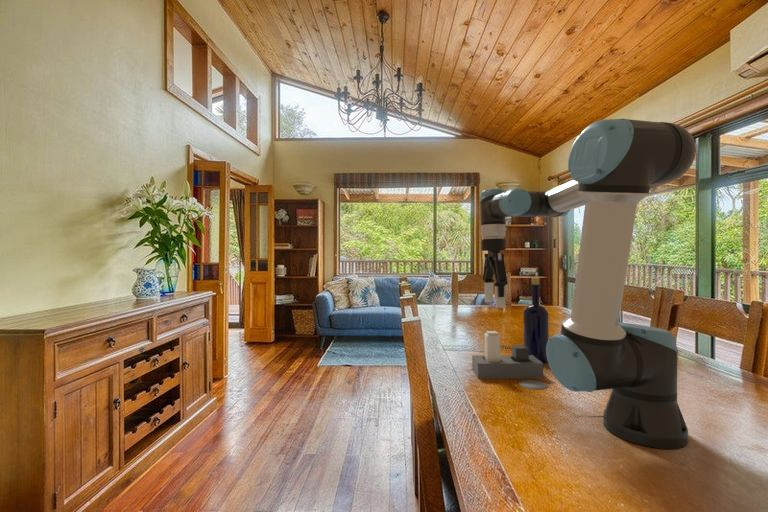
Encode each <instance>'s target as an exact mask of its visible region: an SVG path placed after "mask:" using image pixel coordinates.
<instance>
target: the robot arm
mask: <svg viewBox="0 0 768 512" xmlns="http://www.w3.org/2000/svg"><path fill="white" fill-rule="evenodd" d="M696 153H697V144H696V142H695V139H694V137H693V135H692V134H691V132H690V131H688V130H687V129H686V128H685V127H683V126H681V125H680V124H676V123H673V122H667V121H665V122H664V121H650V120H638V119H629V118H612V119H611V118H610V119H609V118H607V119H600V120H597V121H594V122H592V123H591V124H589V125H588V126H586V127H585V128H584V129H583V130H582V131H581V133H580V134H579V135H577V137H576V138H575V140H574V142H573V144H572V146H571V148H570V150H569V154H568V159H567V160H568V161H567V170H568V172H569V173H570V174H569V175H570V177H571V180H569V181H566V182H564V183H563V184H560V185H557V186H555V187H553V188H551V189H548V190H544V191H543V190H542V191H541V190H538V191H537V190H525V189H523V188H511V189H508V190H506V191H505V190H504V189H502V188H489V189H484V190H482V191H481V193H480V203H479V205H480V237H481V238H482V239H481V246H480V247H481V248H480V249H481V251H483V252H487V253H484V262H483V274H482V281H483V282H484V302H485V303H494V290H495V309H500V308H501V309H506V285H508V284H509V283H508V278H507V271H506V265H505V254H504V253H503V252H504V251H506V249H507V243H506V241H507V239H505V237H506V231H508V228H507V227H506V218H511V217H514V218H515V217H516V218H517V217H519V218H520V217H522V218H523V217H524V218H526V217H529V218H530V217H532V218H534V217H535V218H536V217H537V218H538V217H540V218H541V217H543V218H546V217H547V218H548V217H549V218H559V217H565V216H566V215H568V214H569V212H570V211H572V210H574V209H577V208H580V207H584V210H583V217H582V218H583V219H582V227H581V235H580V240H579V241H580V242H579V243H580V244H579V249H578V259H577V267H576V273H575V282H574V288H573V289H574V290H573V297H572V306H571V312H570V315H569V316H567V317H565V318H563V319H562V320H561V321H562V322H561V327H560V333H556V334H554V335H552V336H551V337H550V338H549V340H548V342H547V346H546V355H547V360H548V366H549V368H550V370H551V372H552V375H553V376H554V378H555V379H556V380H557V381H558V382H559V384H561V386H562V387H564V388H565V389H567V390H569V391H571V392H578V393H579V392H581V393H582V392H587V393H593V392H594V391H603V390H611V393H610V395H609V397H608V400H607V403H606V406H605V408H604V410H603V413H602V414H603V419H602V420H603V422H602V423H603V426H604V428H605V429H606V430H607V431H609V432H610V433H612V434H613V435H615V436H616V437H618V438H621V439H623V440H626V441H628V442H631V443H633V444H637V445H640V446H645V447H648V448H655V449H663V450H664V449H667V450H675V449H680V448H684V447H686V446H687V445H688V444H689V430H688V426H687V424H686V422H685V418H684V416H683V413H682V411H681V408H680V406H679V402H678V353H679V350H678V347H677V338H676V335H675V334H674V333H673V332H672V331H669V330H667V329H664V328H659V327H654V326H648V325H641V324H636V323H628V322H620V316H621V308H622V305H623V297H624V291H625V284H626V278H627V271H628V266H629V260H630V253H631V247H632V246H631V245H632V240H633V232H634V227H635V220H636V215H637V208H638V205H639V203H640V202H641V201H642V200H644V199H645V198H646V197H648V196H649V195H650V189H653V188H657V187H661V186H663V185H667V184H670V183H672V182H674V181H676V180H678V179H680V178H681V177H682V176H684V175H685V174H686V173H687V172H688V171H689V169H690V168H691V166H692V165H693V163H694V161H695V158H696V155H697V154H696ZM501 251H503V252H501ZM494 282H495V283H494ZM494 288H495V289H494Z"/></svg>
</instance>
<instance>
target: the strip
mask: <svg viewBox="0 0 768 512" xmlns="http://www.w3.org/2000/svg"><path fill="white" fill-rule="evenodd" d="M471 365H472V366H471V371H473V373H474V375H475V376H476V378H477V379H544V364H543V363H542V362H541V361H540V360H538V359H537V358H536V357H534V356H533V355H529V348H528V347H526V346H525V345H524V344H523V345H522V344H514V345H513V344H512V345H511V355H510V354H507V355H505V354H503V355H502V354H500V362H485V354H483V355H477V354H476V355H475V354H474V355H471Z"/></svg>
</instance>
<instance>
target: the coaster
mask: <svg viewBox="0 0 768 512" xmlns="http://www.w3.org/2000/svg"><path fill="white" fill-rule="evenodd" d="M518 385H519V386H521V387H523V388H524V389H528V390H533V391H544V390H547V389H549V384H547V383H545V382H543V381H539V380H535V379H524V380H523V379H522V380H521V381H519V382H518Z"/></svg>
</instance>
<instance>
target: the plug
mask: <svg viewBox="0 0 768 512" xmlns="http://www.w3.org/2000/svg"><path fill="white" fill-rule="evenodd" d="M483 334H484V355H485V362H500V355H501V335H500V334H499V332H497V331H496V330H486V331H485V333H483Z"/></svg>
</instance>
